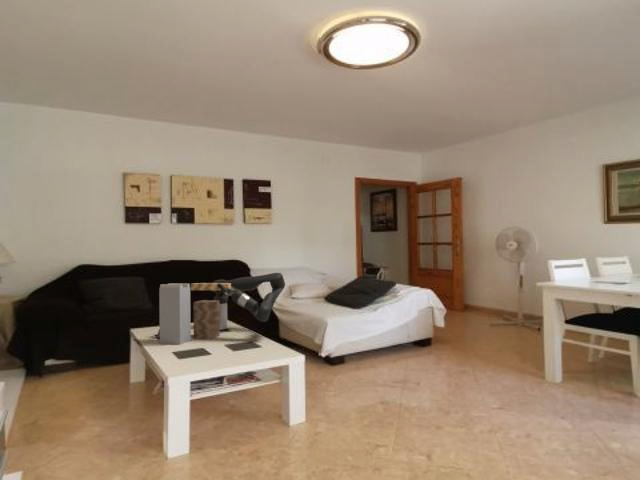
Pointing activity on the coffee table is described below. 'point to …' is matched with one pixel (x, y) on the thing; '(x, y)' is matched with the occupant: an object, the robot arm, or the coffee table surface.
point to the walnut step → (206, 319)
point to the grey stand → (174, 313)
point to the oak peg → (209, 286)
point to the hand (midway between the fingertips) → (220, 284)
